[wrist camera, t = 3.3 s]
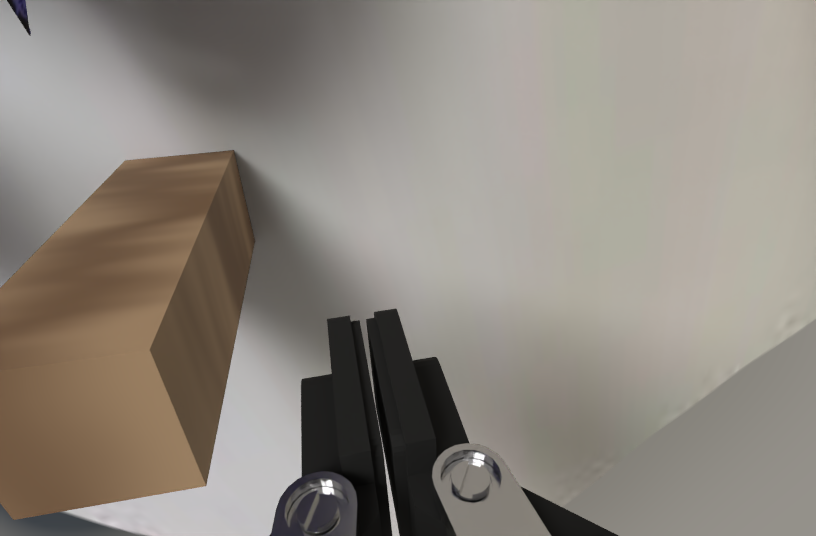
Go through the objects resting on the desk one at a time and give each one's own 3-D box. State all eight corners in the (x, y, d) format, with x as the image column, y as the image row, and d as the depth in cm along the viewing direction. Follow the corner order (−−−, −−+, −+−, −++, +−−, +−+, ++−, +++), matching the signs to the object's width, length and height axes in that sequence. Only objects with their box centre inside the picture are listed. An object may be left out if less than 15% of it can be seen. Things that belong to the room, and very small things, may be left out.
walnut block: (233, 150, 19) (149, 350, 9) (254, 240, 21) (206, 485, 11) (124, 160, 19) (-94, 383, 8) (158, 252, 21) (13, 520, 11)
